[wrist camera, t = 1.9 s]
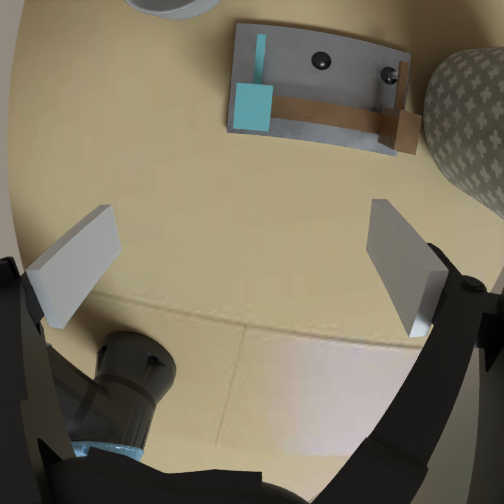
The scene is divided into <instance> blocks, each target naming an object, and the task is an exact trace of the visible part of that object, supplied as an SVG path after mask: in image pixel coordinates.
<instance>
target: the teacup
mask: <svg viewBox="0 0 504 504" xmlns="http://www.w3.org/2000/svg"><path fill="white" fill-rule="evenodd" d="M125 1H126V2H127V3H128V4H129V5H130V6H131V7H133V8H134V9H136V10H138V11H140V12H143V13H147V14H151V15H154V16H157V17H161V18H165V19H171V20H181V19H189V18H192V17H196V16H199V15H201V14H203V13H205V12H207V11H209V10H210V9H212V8H213V7H214V6H215V5H217V3H218V2H219V1H220V0H125Z"/></svg>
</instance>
